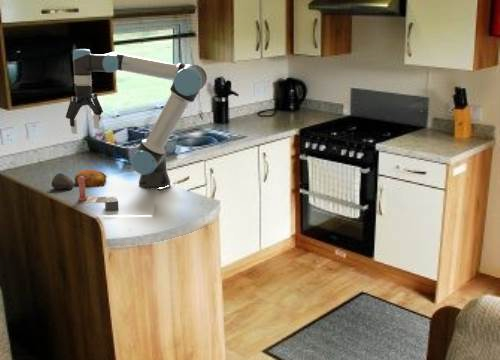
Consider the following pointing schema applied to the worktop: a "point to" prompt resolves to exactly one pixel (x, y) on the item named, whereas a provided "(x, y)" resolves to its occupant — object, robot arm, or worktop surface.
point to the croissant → (92, 178)
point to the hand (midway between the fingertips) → (85, 131)
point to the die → (111, 204)
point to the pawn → (82, 189)
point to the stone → (62, 182)
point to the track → (95, 200)
